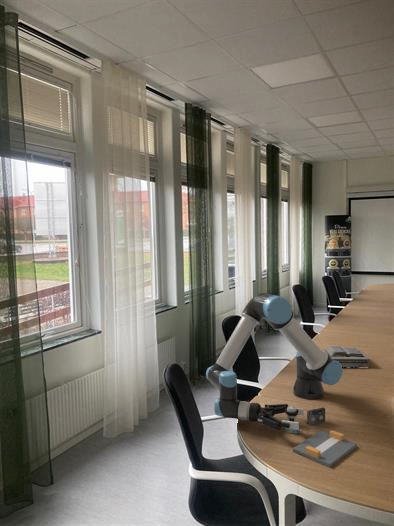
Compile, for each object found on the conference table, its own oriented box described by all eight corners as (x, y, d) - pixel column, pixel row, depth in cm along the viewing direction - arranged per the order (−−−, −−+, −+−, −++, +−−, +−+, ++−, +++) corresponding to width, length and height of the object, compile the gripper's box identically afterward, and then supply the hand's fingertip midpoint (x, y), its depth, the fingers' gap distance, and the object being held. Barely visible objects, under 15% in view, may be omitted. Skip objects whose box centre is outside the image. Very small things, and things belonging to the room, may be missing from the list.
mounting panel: (321, 433, 164) (321, 425, 164) (356, 446, 153) (357, 438, 153) (292, 451, 151) (292, 443, 151) (329, 467, 140) (329, 458, 140)
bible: (321, 357, 269) (321, 342, 268) (365, 359, 262) (365, 344, 261) (322, 368, 246) (322, 352, 246) (370, 371, 239) (370, 354, 238)
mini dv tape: (323, 420, 176) (322, 407, 176) (325, 421, 175) (325, 408, 174) (307, 423, 173) (307, 410, 173) (309, 425, 172) (309, 411, 172)
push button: (303, 431, 167) (303, 407, 166) (299, 436, 162) (299, 412, 162) (287, 427, 170) (287, 404, 169) (283, 433, 165) (283, 409, 165)
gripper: (257, 408, 184) (305, 415, 176) (242, 433, 161) (296, 442, 153) (257, 392, 184) (305, 398, 176) (241, 415, 161) (296, 423, 153)
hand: (301, 419), depth 164 cm, fingers open, 13 cm apart
